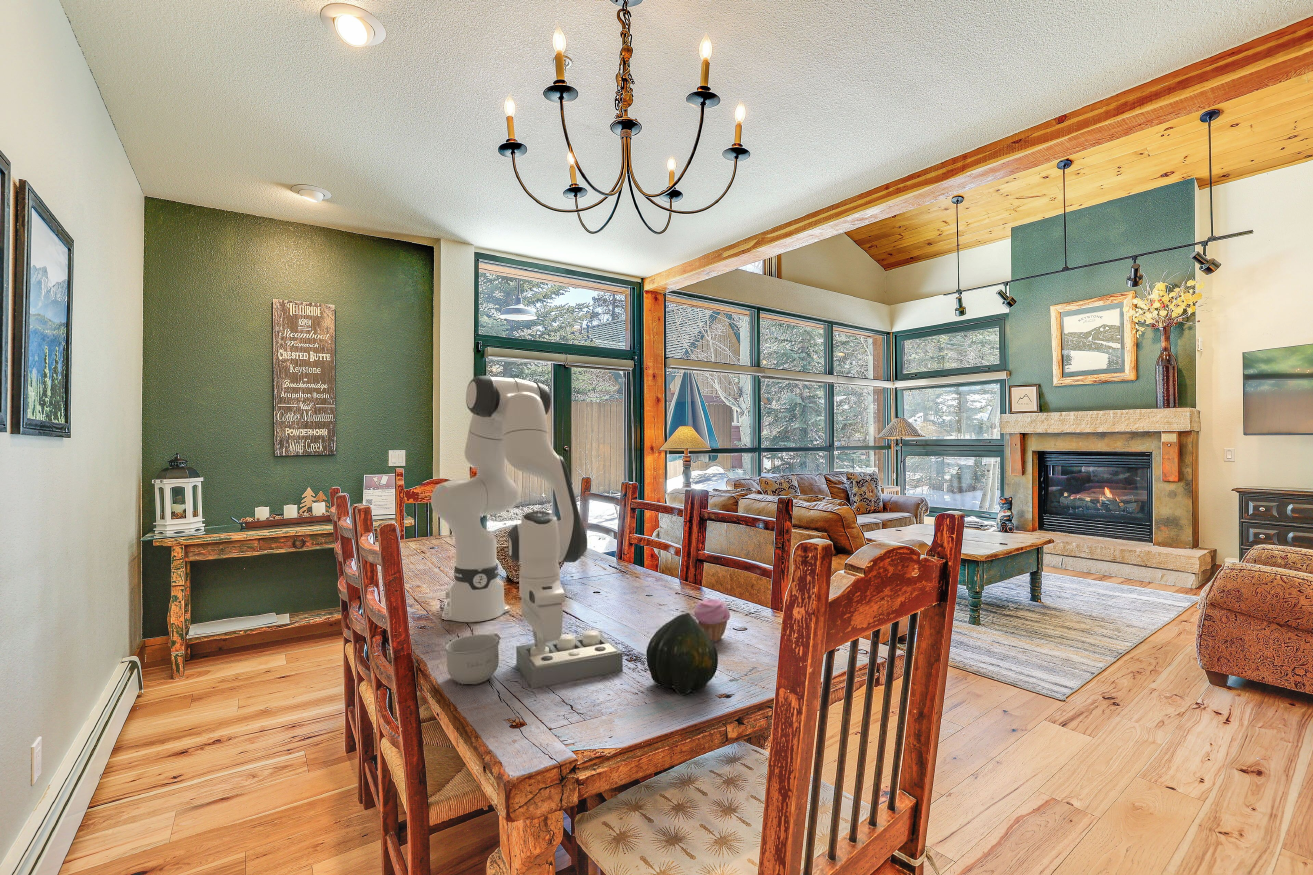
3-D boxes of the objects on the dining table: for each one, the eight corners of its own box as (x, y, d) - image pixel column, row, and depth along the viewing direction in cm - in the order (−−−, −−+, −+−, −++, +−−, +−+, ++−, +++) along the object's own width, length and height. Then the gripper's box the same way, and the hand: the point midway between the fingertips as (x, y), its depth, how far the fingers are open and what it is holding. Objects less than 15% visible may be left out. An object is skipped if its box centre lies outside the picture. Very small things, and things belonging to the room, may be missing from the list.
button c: (579, 644, 136) (579, 631, 136) (596, 642, 137) (596, 629, 137) (585, 650, 132) (585, 637, 132) (602, 647, 134) (602, 634, 134)
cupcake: (687, 638, 148) (687, 599, 148) (708, 630, 154) (708, 592, 154) (716, 647, 142) (716, 606, 142) (736, 638, 148) (736, 599, 148)
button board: (516, 663, 132) (516, 644, 132) (599, 649, 141) (599, 630, 141) (532, 688, 120) (532, 666, 120) (622, 670, 129) (622, 650, 128)
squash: (651, 681, 110) (697, 614, 115) (623, 656, 124) (665, 597, 128) (702, 720, 114) (744, 654, 119) (669, 692, 128) (709, 634, 132)
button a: (528, 661, 130) (528, 647, 130) (546, 657, 132) (546, 644, 132) (533, 667, 127) (533, 653, 127) (551, 664, 129) (551, 650, 129)
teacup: (469, 694, 117) (469, 654, 117) (434, 682, 123) (434, 644, 123) (520, 670, 129) (520, 634, 129) (486, 660, 134) (485, 625, 134)
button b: (554, 649, 133) (554, 635, 133) (571, 646, 135) (571, 633, 135) (560, 655, 129) (560, 641, 129) (577, 652, 131) (577, 638, 131)
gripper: (514, 577, 137) (514, 636, 137) (537, 600, 119) (538, 668, 119) (541, 574, 140) (541, 632, 140) (567, 596, 122) (568, 662, 122)
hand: (539, 649), depth 129 cm, fingers closed, pressing on button a
